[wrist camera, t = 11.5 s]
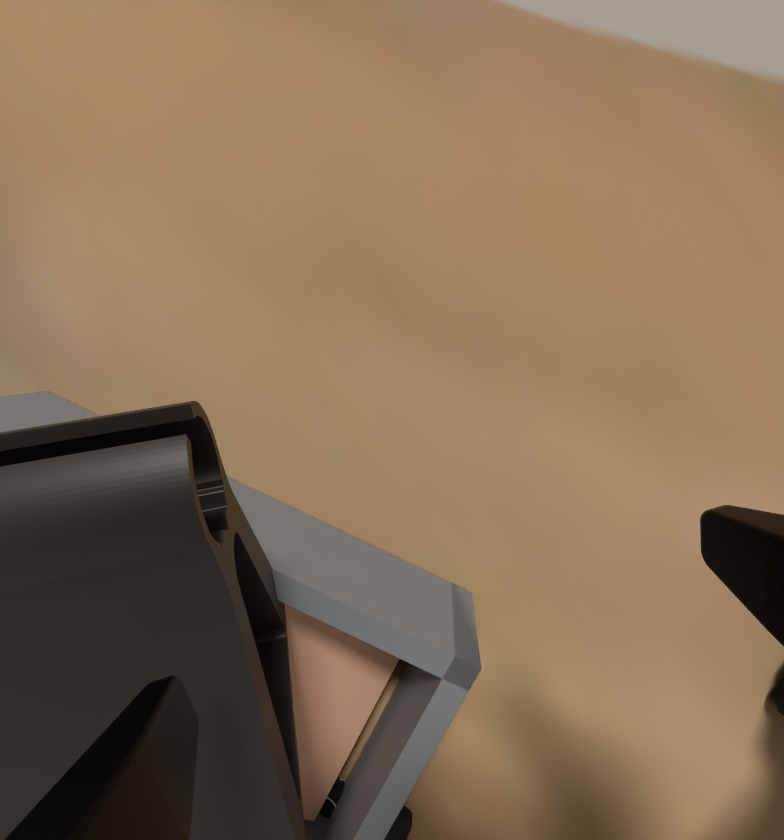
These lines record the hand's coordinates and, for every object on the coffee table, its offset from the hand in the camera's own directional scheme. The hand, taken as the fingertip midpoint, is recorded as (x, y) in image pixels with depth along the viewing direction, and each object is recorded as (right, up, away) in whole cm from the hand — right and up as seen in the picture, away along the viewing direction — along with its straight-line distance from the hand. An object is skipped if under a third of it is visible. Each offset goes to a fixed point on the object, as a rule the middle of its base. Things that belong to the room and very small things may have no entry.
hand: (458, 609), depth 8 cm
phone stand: (-7, -7, +7) cm, 12 cm away
